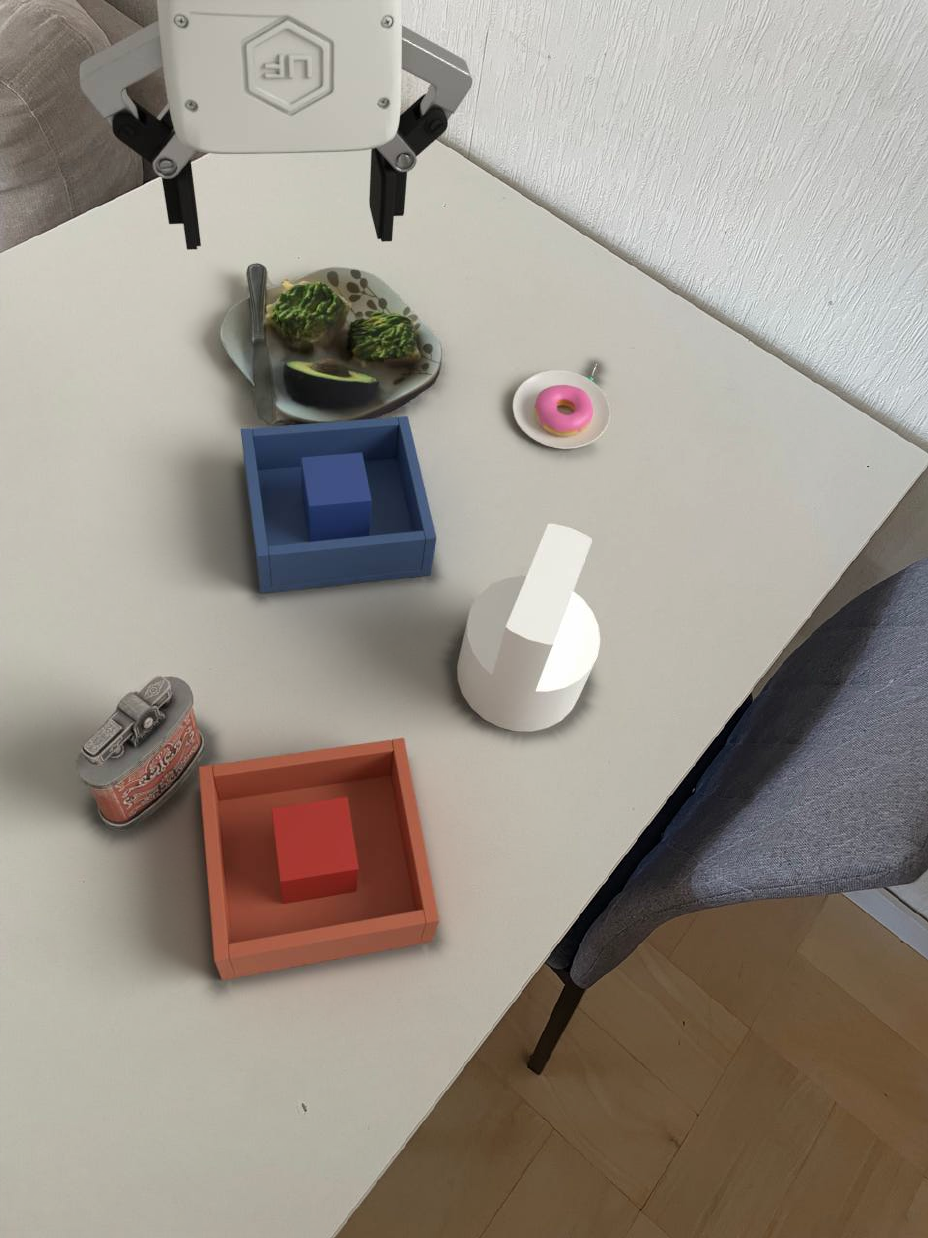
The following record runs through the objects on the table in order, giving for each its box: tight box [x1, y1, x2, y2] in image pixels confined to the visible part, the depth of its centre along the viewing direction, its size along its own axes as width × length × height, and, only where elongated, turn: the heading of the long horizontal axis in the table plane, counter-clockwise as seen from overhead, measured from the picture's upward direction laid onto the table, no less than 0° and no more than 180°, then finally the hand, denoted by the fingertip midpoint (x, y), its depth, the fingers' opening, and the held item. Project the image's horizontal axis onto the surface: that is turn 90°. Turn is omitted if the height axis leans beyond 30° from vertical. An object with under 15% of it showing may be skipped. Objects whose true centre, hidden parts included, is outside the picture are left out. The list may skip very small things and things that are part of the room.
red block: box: [271, 797, 359, 904], centre depth 61 cm, size 4×4×4 cm
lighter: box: [75, 675, 206, 832], centre depth 61 cm, size 8×3×10 cm, turn 145°
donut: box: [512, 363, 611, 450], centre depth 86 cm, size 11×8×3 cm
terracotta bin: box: [198, 737, 440, 981], centre depth 62 cm, size 13×12×5 cm
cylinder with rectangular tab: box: [456, 523, 601, 733], centre depth 68 cm, size 9×9×12 cm
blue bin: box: [240, 415, 437, 595], centre depth 76 cm, size 13×12×5 cm
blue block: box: [301, 453, 372, 542], centre depth 75 cm, size 4×4×4 cm
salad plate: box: [219, 262, 443, 426], centre depth 85 cm, size 19×18×5 cm
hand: (287, 227), depth 52 cm, fingers open, 9 cm apart
